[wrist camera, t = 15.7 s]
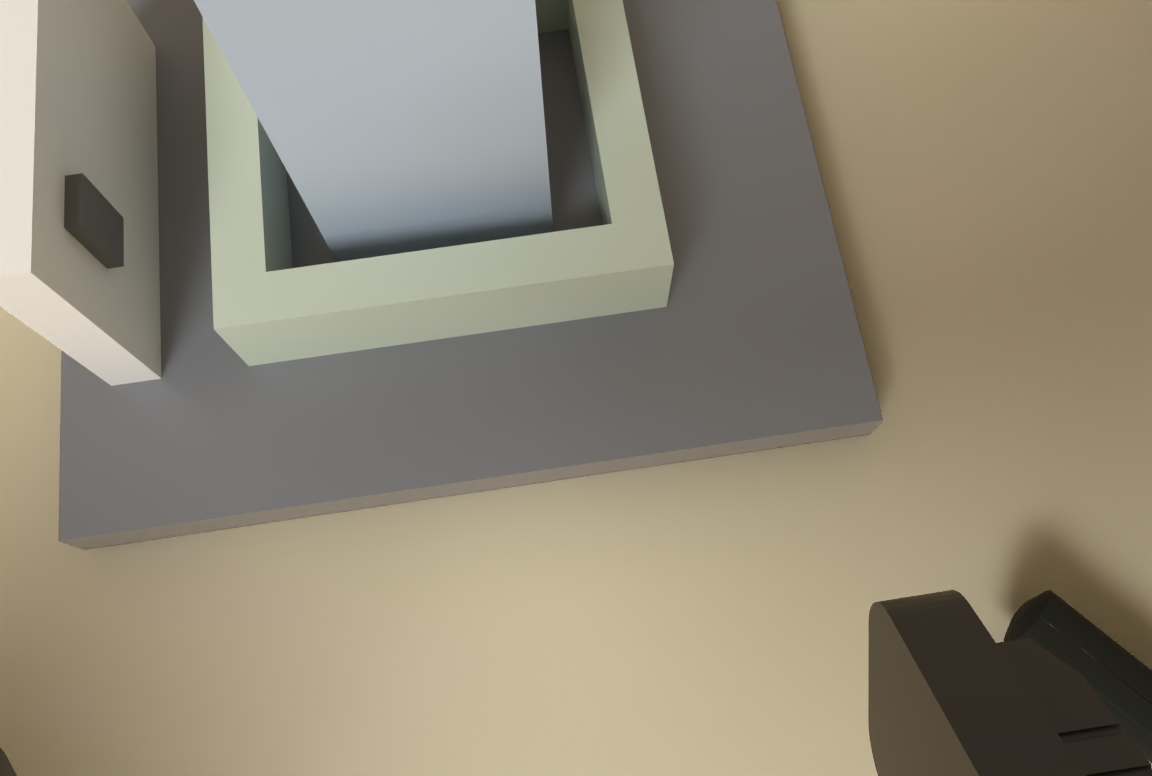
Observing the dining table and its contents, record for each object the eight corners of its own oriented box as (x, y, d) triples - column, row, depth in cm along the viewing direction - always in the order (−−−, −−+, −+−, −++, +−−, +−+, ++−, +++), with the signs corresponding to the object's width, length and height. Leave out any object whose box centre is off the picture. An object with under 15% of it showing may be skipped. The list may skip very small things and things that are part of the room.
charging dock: (736, -104, 25) (777, -345, 20) (869, 433, 21) (973, 323, 15) (87, -19, 25) (-63, -243, 19) (83, 549, 20) (-115, 480, 15)
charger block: (529, 74, 23) (491, -324, 14) (553, 236, 21) (527, -94, 13) (326, 101, 22) (162, -285, 14) (338, 265, 21) (166, -50, 13)
